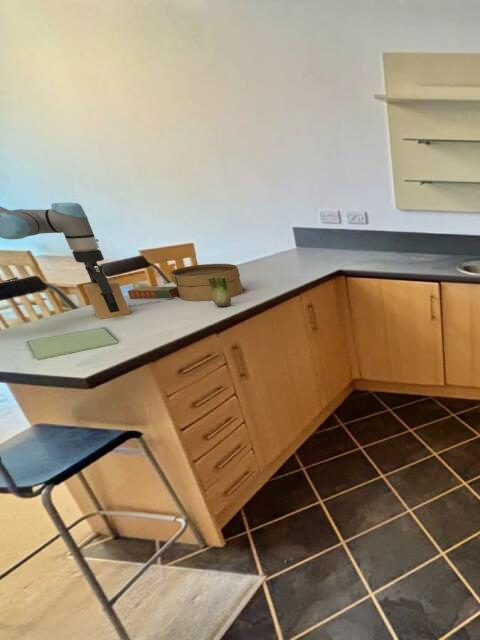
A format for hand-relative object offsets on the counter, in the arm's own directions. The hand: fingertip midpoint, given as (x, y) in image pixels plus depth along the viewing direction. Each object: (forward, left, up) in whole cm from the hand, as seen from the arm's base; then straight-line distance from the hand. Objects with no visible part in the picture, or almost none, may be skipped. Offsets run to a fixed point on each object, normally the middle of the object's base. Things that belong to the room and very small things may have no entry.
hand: (111, 308), depth 157 cm
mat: (+29, -15, -3) cm, 33 cm away
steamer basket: (-8, +36, -3) cm, 37 cm away
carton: (-18, +18, -3) cm, 26 cm away
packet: (0, 0, -3) cm, 3 cm away
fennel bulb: (+17, +32, -3) cm, 36 cm away
